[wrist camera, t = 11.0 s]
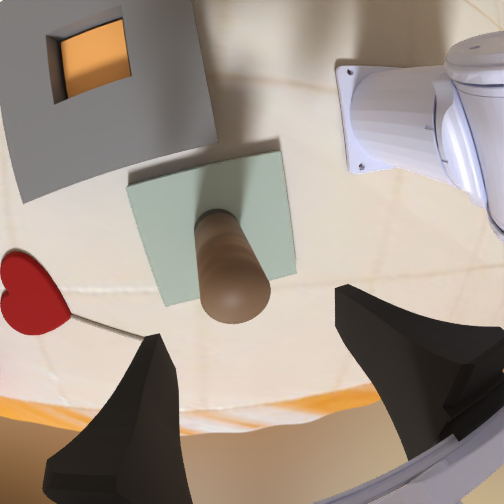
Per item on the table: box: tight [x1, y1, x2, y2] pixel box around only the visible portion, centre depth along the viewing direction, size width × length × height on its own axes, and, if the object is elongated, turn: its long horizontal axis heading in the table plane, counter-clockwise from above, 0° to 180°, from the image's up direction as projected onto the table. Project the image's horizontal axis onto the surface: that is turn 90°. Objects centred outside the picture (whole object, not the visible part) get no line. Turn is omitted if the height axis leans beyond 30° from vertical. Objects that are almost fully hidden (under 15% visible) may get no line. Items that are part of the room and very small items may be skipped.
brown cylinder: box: [194, 208, 271, 324], centre depth 16 cm, size 3×3×8 cm
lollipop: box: [0, 252, 144, 341], centre depth 21 cm, size 8×1×15 cm
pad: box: [126, 150, 297, 306], centre depth 20 cm, size 10×9×1 cm
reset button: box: [61, 20, 132, 99], centre depth 13 cm, size 4×4×1 cm
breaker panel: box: [0, 0, 218, 204], centre depth 13 cm, size 12×14×4 cm
